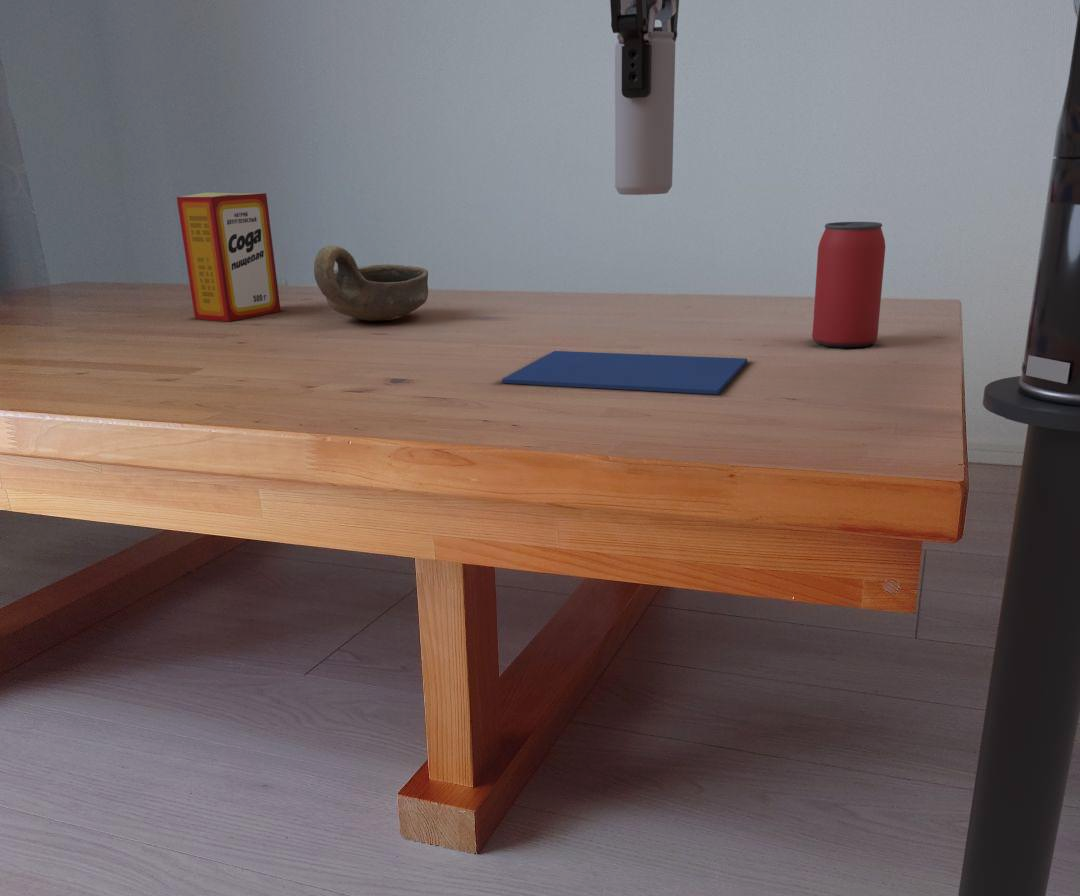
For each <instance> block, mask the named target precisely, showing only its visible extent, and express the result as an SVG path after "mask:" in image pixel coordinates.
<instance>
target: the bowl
mask: <svg viewBox="0 0 1080 896" xmlns="http://www.w3.org/2000/svg"><path fill="white" fill-rule="evenodd" d="M315 256H316V257H315V259H314V263H313V274H314V279H315V283H316V285H317V287H318V289H319V290H320V292H321V294H322V295H323V296H324V297H325V298H326V302H327V303H328V306H329V307H330V308H331V309H332V310H334V311H335V312H336V313H339V314H342V315H344V316H347V317H351V318H354V319H357V320H360V321H367V322H385V321H393V320H396V319H399V318H401V317H404V316H406V315H409V314H410V313H412V312H414V311H416V310H417V309H418V308H420V307H422V306H423V305H424V304H425V303H427V300H428V297H429V284H428V282H429V281H428V280H429V271H428V270H427V269H426V268H423V267H419V266H414V265H403V264H373V265H368V266H358V264H357V262H356V260H355V258H354V256H353V255H352V254H351V253H350V252H349V251H348V250H347V249H345V248H343V247H340V246H337V245H324V247H322V248H320V249H319V250H318V252H317V253H316V255H315ZM335 265H337V269H334V268H335Z"/></svg>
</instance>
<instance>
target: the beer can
mask: <svg viewBox="0 0 1080 896" xmlns="http://www.w3.org/2000/svg"><path fill="white" fill-rule="evenodd" d="M882 227H883V223H882V222H877V221H837V222H828V223H825V225H824V228H825V229H824V230H823V233H822V234H821V238H820V239H819V243H818V247H817V259H816V274H815V289H814V290H815V291H814V306H813V321H812V335H811V336H812V337H811V338H812V340H813V341H814V342H815V343H816V344H818V345H819V346H823V347H828V348H836V349H838V348H839V349H857V348H864V347H869V346H870V345H873V344H874V343H876V342H877V340H878V337H879V324H880V323H879V322H880V315H881V314H880V313H881V303H882V302H881V301H882V291H883V279H884V268H885V257H886V240H885V236H884V233H883V229H882Z"/></svg>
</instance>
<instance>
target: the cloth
mask: <svg viewBox="0 0 1080 896" xmlns="http://www.w3.org/2000/svg"><path fill="white" fill-rule="evenodd" d="M746 364H748V358H746V357H745V358H744V357H743V358H742V357H719V356H717V357H715V356H696V355H695V356H693V355H669V354H668V355H667V354H666V355H665V354H641V353H620V352H619V353H618V352H617V353H616V352H593V351H567V350H565V351H564V350H554V351H552V352H549V353H548V354H546V355H543V356H542V357H540V358H539V359H536V360H535V361H533V362H531V363H529V364H528V365H526V366H524V367H522V368H520V369H518V370H517V371H514V372H513V373H511V374H509V375H507V376H505V377H503V378H502V380H501V384H508V385H511V384H513V385H530V386H546V387H547V386H548V387H565V388H566V387H567V388H586V389H587V388H588V389H589V388H590V389H604V390H605V389H607V390H625V391H640V392H641V391H642V392H643V391H644V392H659V393H661V392H663V393H680V394H681V393H683V394H700V395H719V394H720V393H721V392H722V391H723V389H724V388H725V387H726V386H727V385H728V384H729V383H730V382H731V381H732V380H733V379H734V378H735V376H736V375H737V374H738V373H739V372H740V371H741V370H742V368H744V367H745V366H746Z"/></svg>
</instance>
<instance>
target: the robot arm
mask: <svg viewBox="0 0 1080 896" xmlns="http://www.w3.org/2000/svg"><path fill="white" fill-rule="evenodd" d="M609 2H610V18H611V21H610V27H611V30H612V34H617V35H618V39H617V41H618V40H619V44H620V45H621V44H624V46H622V95H623V96H624V97H626V98H643V97H648V96H649V95H650V93H651V56H652V45H650V44H647V45H646V43H651V42H652V38H653V31H666V32H673V33H674V37H673V38H672V39H673V40H674V41H675V43H676V42H677V38H678V21H679V19H678V18H679V7H680V0H609ZM1072 5H1073V11H1074V14H1075V17H1076V26H1075V33H1074V39H1073V47H1072V53H1071V59H1070V66H1069V74H1068V78H1067V85H1066V90H1065V93H1064V98H1063V101H1062V102H1063V103H1062V107H1061V110H1060V114H1059V118H1058V121H1057V125H1056V130H1055V138H1054V145H1053V146H1054V147H1053V151H1052V152H1053V153H1052V157H1053V158H1052V159H1051V166H1050V174H1049V180H1048V187H1047V194H1046V199H1045V200H1046V202H1045V207H1044V216H1043V221H1042V228H1041V229H1042V230H1041V235H1040V241H1039V250H1038V257H1037V264H1036V270H1035V271H1036V272H1035V278H1034V286H1033V292H1032V299H1031V306H1030V312H1029V313H1030V314H1029V320H1028V325H1027V334H1026V340H1025V347H1024V348H1025V349H1024V356H1023V360H1022V366H1021V375H1020V376H1021V377H1020V379H1019V386H1018V391H1019V392H1020V393H1021V394H1023V395H1025V396H1027V397H1030V398H1032V399H1035V400H1039V401H1043V402H1048V403H1053V404H1059V405H1066V406H1075V407H1080V0H1072ZM658 20H659V21H660V23H661V26H655V25H656V21H658Z"/></svg>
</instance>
